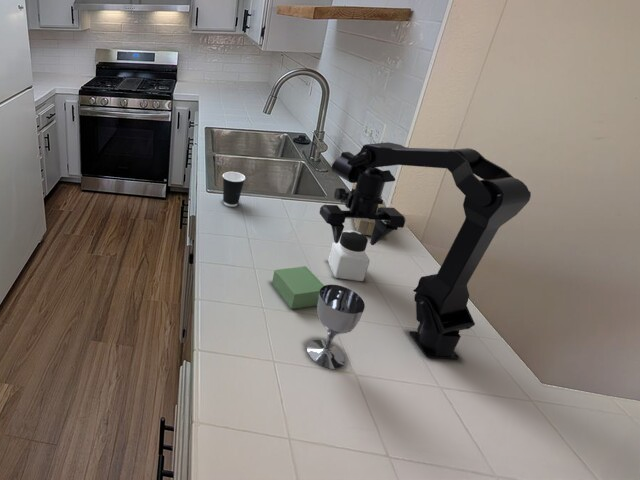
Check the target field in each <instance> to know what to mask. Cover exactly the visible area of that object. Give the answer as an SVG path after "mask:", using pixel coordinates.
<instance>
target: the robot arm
mask: <svg viewBox="0 0 640 480" xmlns="http://www.w3.org/2000/svg"><path fill="white" fill-rule="evenodd" d="M392 166H393V167H394V166H405V167H406V166H407V167H408V166H409V167H420V168H421V167H423V168H436V169H447V170H448V171H449V173H451V175H452V178H453V182H454V184H455V186H456V188H457V189H458V190H459V191H460V192H461V193H462V195H464V199H463V204H462V207H463V211H464V216H465V218H464V221H463V223H462V225H461V226H460V229H459V231H458V232H457V234H456V236H455V237H454V240H453V241H452V244H451V246H450V248H449V251H448V252H447V254H446V256H445V258H444V259H443V262H442V263H441V265H440V267H439V269H438V271H437V273H434V274H430V275H424V276H421V277H420V278H419V279H418V283H417V286H416V288H414V289H413V290H412V291H413V292H414V293H415V294H414V296H413V297H414V298H413V299H414V302H415V316H416V317H415V318H416V321H417V322H418V323H419V324H418V325H417V328H416V331H414V330H410V331H409V333H408V334H409V335H410V337H411V339H412V340H413V342H414V343H415V344H416V345H417V346H418V348H419V349H420V350H421V352H422V354H424V356H425V357H427V358H433V359H445V360H447V359H448V360H459V359H460V356H459V355H458V353H457V352H456V351H455V350H456V347H457V345H458V343H459V341H460V339H461V335H460V332H461V331H464V330H470V329H471V328H473V327H474V326H476V322H475V321H474V319H473V317H472V314H471V312H470V309H469V307H468V302H469V299H470V293H469V292H470V291H469V289H468V288H469V287H468V283H469V282H470V280H471V278H472V276H473V275H474V274H475V273H474V272H475V271H476V269H477V267H478V266H479V264H480V263H481V261H482V258H483V257H484V255H485V253H487V250H488V248H489V247H490V245H491V243H492V241H493V240H494V238H495V236H496V234H497V233H498V231H499V229H500V228H501V227H502V226H503V225H505V224H506V223H507V222H509V221H510V220H512V219H513V218H514V217H516V216H517V215H518V214H519V213H520V212H521V211H522V210H523V209H524V207H526V205H527V204H528V203H529V202H530V200H531V197H532V193H531V191H529V188H528V186H527V185H526V183H524V182H523V181H522V180H520V179H518V178H516V177H514V176H513V175H512V174H510V173H509V171H507V169H505V168H504V167H501V166H499V165H497V164H496V163H494V162H492V161H490V160H489V159H486V157H484V155H482V154H481V153H480V152H479V151H477V150H476V149H473V148H471V147H470V148H468V147H467V148H466V147H465V148H430V147H429V148H425V147H423V148H422V147H407V146H403V145H402V144H398V143H393V142H388V141H387V142H377V143H366V144H364V145H363V146H362V147H361V149H360V151H359V152H358V153H356V154H353V153H351V152H350V151H342V152H341V154H340V156H339V157H337V158H336V159H335V160H334V161H333V163H332V164H331V171H332V173H333V174H334V175H336V176H338V177H340V178H341V179H343V180H345V181H346V182H349V183H351V184H353V183H356V182H357V184H356V188H355V189H352V188H351V190H350V191H349V190H346V188H342V187H336V188H335V190H334V194H333V195H334V196H333V198H334V200H337V201H340V204H345V205H344V206H345V207H346V208H347V209H349V210H342V209H341V208H340V207H339V206H338V204H323V205H322V206H320V207H319V213H318V214H319V215H320V216H321V217H322V219H323V220H324V221H325V223H326V224H328V225H330V227H331V230H332V237H333V242H335V243H338V242H340V239H341V235H342V233H343V232H344V229H345V225H344V223H345V222H346V219H347V220H348V219H349V220H350V219H352V220H354V219H372V220H375V227H374V230H373V233H372V236H370V240H369V244H370V245H371V246H374V245H376V244H377V243H378V242H380V241H381V240H382V239H384V238H385V237H386V236H387V235H389V234H390V233H392V232H393V231H397V230H398V229H399V228H400V229H403V228H404V227H405V224H406V221H407V220H406V217H405V216H404V215H403V214H402V213H401V212H400V211H398V209H396V207H389V206H388V207H387V206H386V207H380V208H378V205H379V204H382V203H383V201H384V199H383V198H382V199H381V195H382V196H383V191H384V187H385V184H386V183H390V182H395V181H396V177H395V176H394V175H393V174H392V172H391V171H390V170H388V169H387V170H383V169H380V168H382V167H384V168H385V167H392ZM480 179H481V180H480ZM377 208H378V210H377ZM383 237H384V238H383Z"/></svg>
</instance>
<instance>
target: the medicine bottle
mask: <svg viewBox="0 0 640 480" xmlns="http://www.w3.org/2000/svg"><path fill="white" fill-rule="evenodd" d="M368 241H369V240H368V237H367V235H366V234H365V235H363V234H362V233H360V232H357V231H356V230H351V229H347V230H343V231H342V234H341V237H340V240H339V241H338V243H335V242H334V241H332V245H331V249H330V253H329V257H328V261H327V263H328V266H329V268H330V270H331V272H332V274H333V277H334V278H335V279H342V280H350V281H356V282H357V281H358V282H364V281H365V278H366V274H367V271H368V268H369V264H370V261H371V259H370V258H369V256H368V254H367V253H366V249H367V245H368Z"/></svg>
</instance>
